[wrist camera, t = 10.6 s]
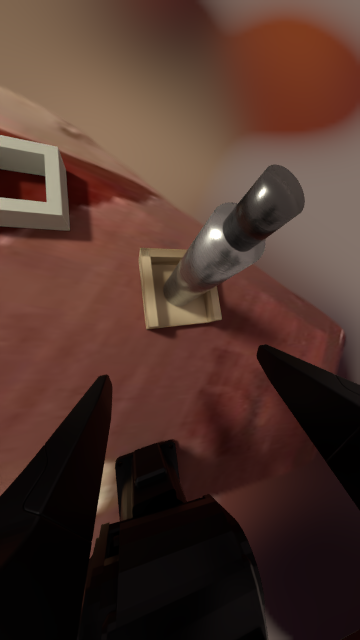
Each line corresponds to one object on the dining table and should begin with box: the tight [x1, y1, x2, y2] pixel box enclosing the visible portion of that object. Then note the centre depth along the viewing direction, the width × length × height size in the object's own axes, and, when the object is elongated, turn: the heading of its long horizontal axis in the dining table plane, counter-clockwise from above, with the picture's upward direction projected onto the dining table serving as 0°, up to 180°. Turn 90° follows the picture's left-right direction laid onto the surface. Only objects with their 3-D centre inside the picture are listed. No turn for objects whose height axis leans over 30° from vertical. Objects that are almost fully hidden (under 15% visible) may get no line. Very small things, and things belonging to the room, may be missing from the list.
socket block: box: [0, 135, 70, 231], centre depth 17 cm, size 8×8×2 cm
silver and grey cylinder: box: [163, 165, 305, 306], centre depth 14 cm, size 4×4×15 cm
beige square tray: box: [139, 248, 222, 329], centre depth 21 cm, size 9×9×3 cm
